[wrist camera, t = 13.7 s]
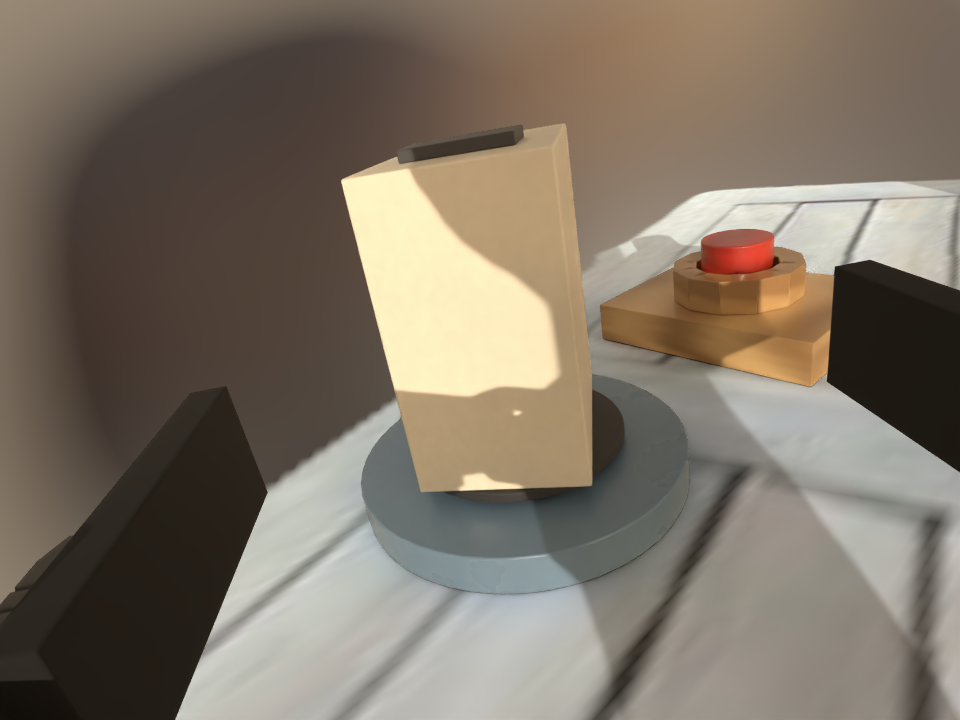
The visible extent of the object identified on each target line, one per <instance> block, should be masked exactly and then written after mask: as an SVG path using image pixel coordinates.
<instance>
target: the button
mask: <svg viewBox="0 0 960 720" xmlns="http://www.w3.org/2000/svg"><path fill="white" fill-rule="evenodd" d="M773 260H774V235H773V234H772V233H771V232H768V231H764V230H757V229H737V230H727V231H722V232H717V233H713V234H710V235H708V236H706V237H704V238H703V239H702V240H701V270H702V271H703V272H706V273H713V274H722V275H731V274H749V273H755V272H759V271H764V270H768V269H771V268H772V267H773Z"/></svg>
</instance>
